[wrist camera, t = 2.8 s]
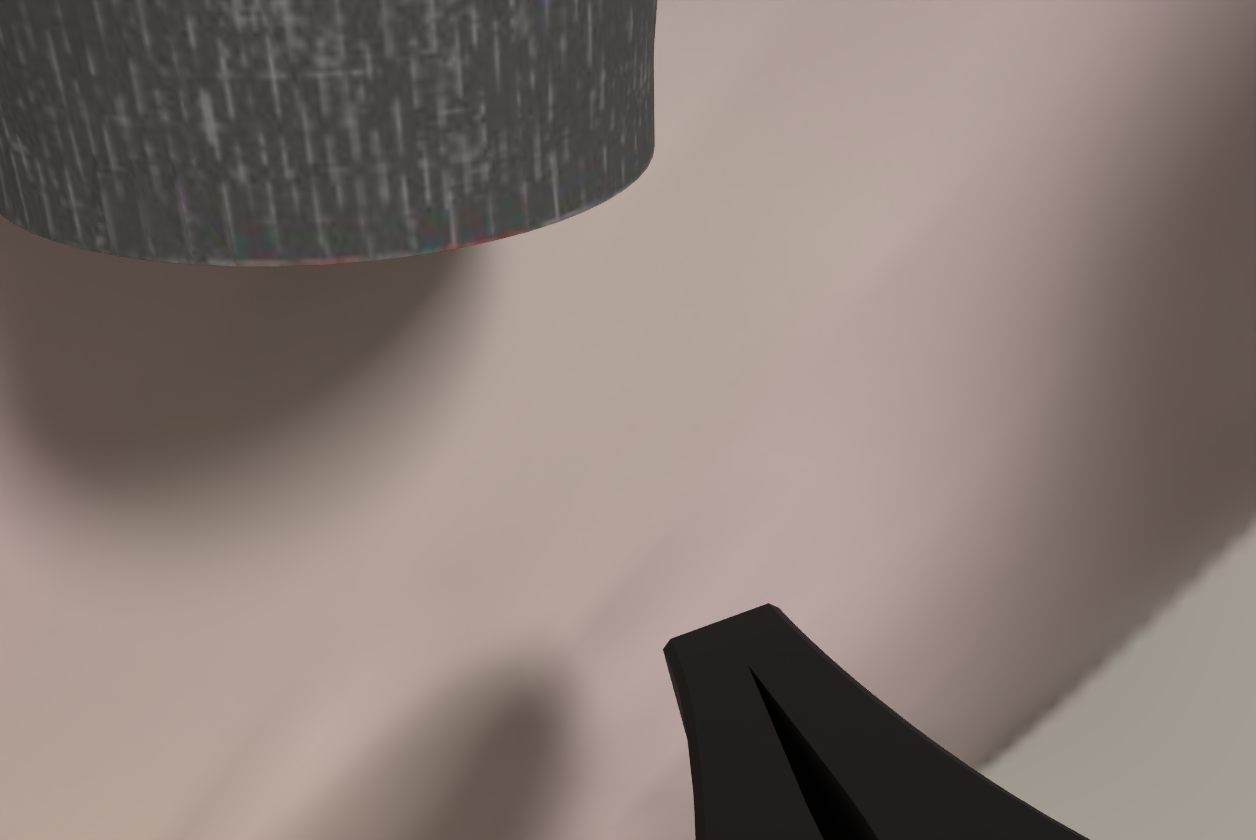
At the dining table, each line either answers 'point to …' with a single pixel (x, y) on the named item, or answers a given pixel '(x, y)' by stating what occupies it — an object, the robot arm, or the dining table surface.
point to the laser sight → (317, 123)
